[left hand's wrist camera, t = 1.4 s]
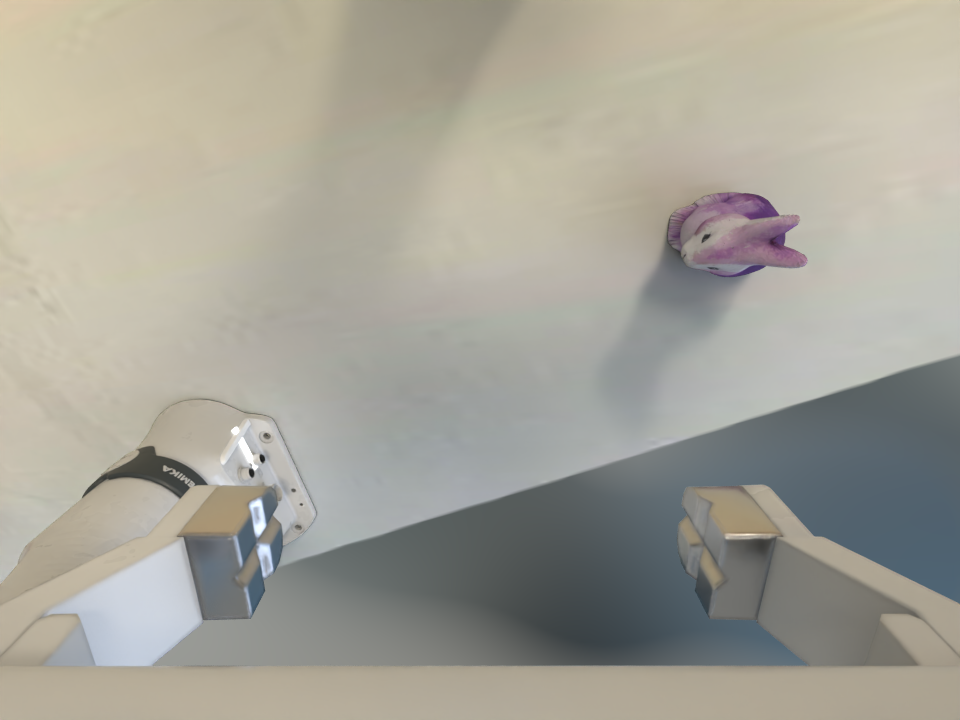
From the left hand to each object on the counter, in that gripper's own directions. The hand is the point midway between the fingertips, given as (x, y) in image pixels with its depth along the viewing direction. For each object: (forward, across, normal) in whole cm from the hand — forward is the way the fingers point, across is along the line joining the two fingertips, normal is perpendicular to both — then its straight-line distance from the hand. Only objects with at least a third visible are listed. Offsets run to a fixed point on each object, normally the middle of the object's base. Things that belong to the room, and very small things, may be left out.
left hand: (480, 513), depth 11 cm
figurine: (+48, -24, 0) cm, 54 cm away
